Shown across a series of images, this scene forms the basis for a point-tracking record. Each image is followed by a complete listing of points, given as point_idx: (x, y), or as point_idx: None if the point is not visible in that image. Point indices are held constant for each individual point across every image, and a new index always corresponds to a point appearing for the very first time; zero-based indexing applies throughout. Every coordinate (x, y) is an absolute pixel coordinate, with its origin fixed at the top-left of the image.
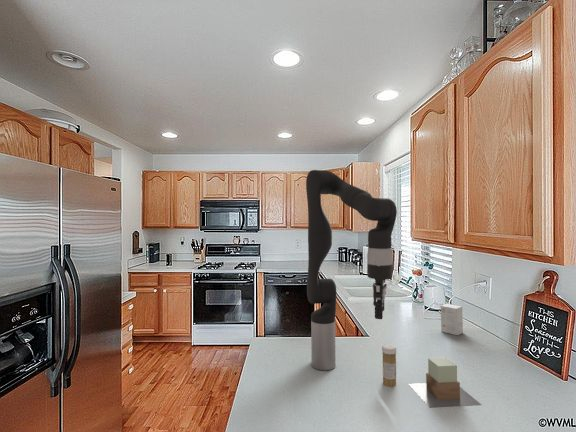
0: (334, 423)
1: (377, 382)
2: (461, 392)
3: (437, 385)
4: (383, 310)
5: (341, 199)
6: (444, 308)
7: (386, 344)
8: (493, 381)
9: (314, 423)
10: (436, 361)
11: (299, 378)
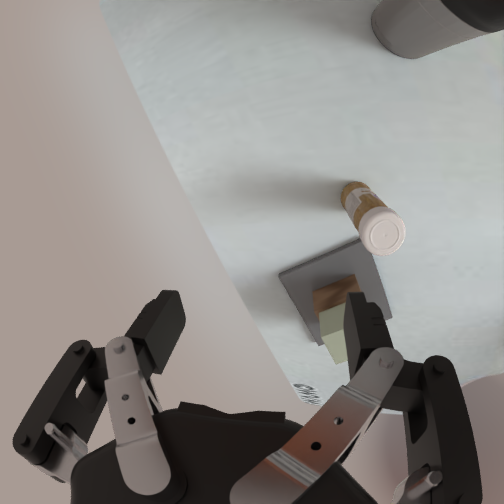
0: (160, 116)
1: (366, 168)
2: None
3: (315, 308)
4: (344, 325)
5: None
6: None
7: (399, 226)
8: (407, 360)
9: (145, 85)
10: None
11: None
